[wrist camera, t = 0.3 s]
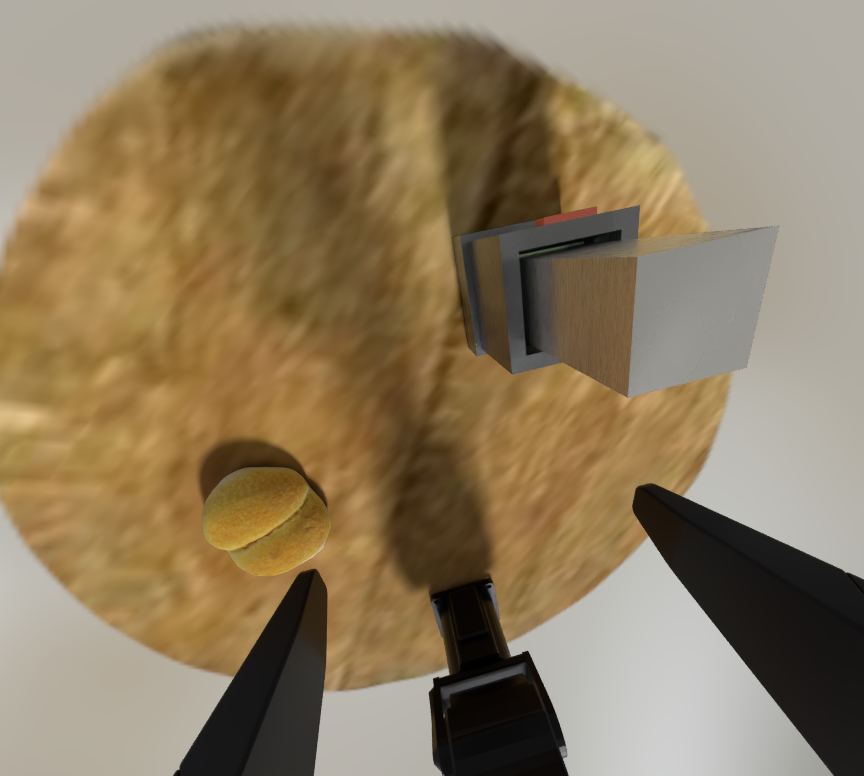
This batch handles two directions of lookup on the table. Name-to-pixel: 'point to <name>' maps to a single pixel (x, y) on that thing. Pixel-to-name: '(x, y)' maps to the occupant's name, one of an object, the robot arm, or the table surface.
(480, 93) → the table surface
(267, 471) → the bread roll
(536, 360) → the dark grey box
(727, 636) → the robot arm
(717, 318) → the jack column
